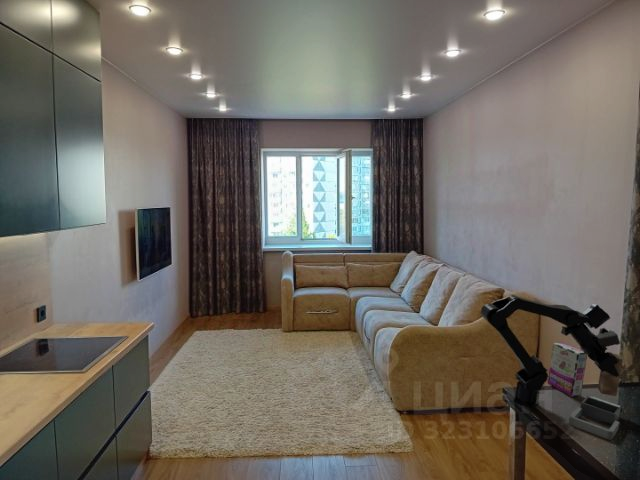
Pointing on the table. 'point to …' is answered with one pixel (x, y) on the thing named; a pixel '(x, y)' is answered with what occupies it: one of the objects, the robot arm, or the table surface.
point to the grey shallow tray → (592, 425)
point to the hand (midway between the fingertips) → (614, 373)
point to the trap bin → (600, 410)
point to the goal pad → (605, 401)
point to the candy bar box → (567, 369)
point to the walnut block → (610, 380)
